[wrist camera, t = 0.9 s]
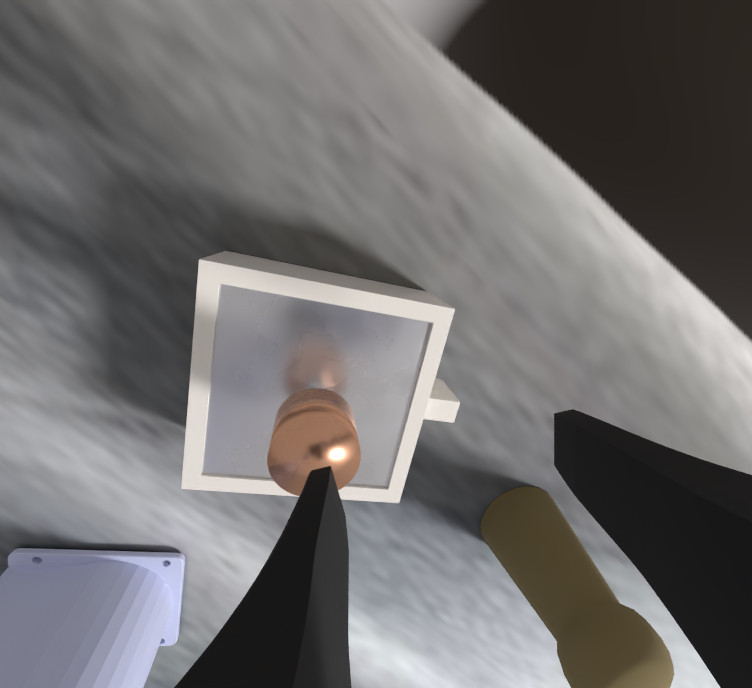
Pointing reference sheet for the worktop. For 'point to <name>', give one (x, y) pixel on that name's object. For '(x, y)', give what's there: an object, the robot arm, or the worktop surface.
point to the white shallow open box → (328, 288)
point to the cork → (573, 596)
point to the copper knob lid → (308, 389)
